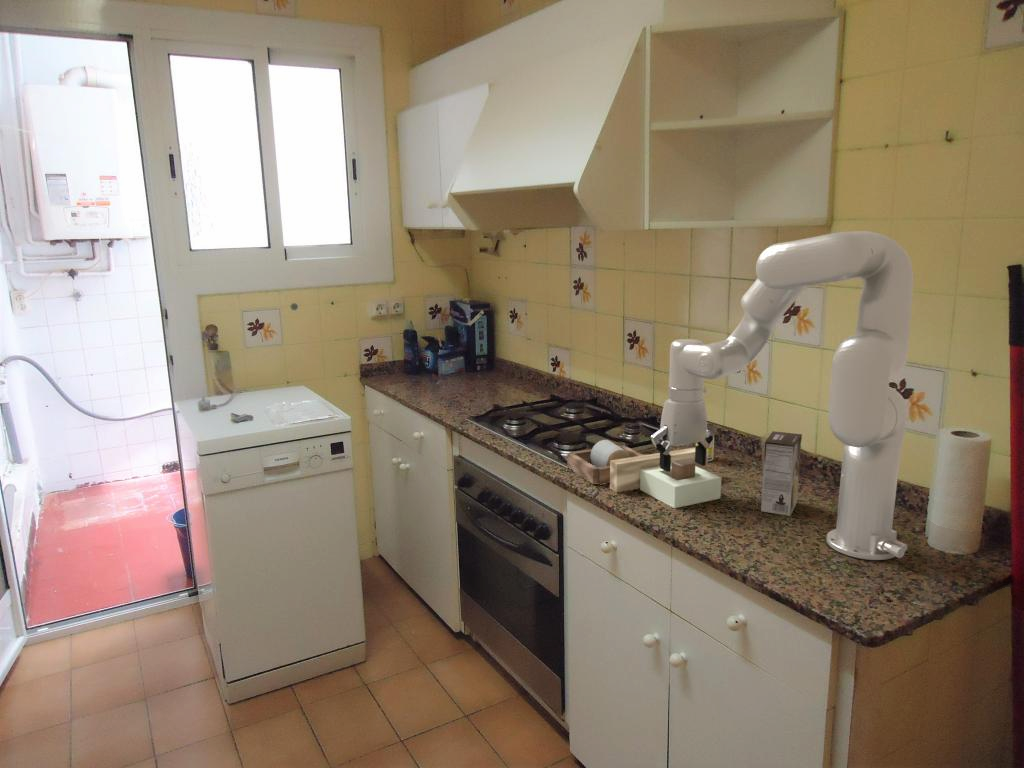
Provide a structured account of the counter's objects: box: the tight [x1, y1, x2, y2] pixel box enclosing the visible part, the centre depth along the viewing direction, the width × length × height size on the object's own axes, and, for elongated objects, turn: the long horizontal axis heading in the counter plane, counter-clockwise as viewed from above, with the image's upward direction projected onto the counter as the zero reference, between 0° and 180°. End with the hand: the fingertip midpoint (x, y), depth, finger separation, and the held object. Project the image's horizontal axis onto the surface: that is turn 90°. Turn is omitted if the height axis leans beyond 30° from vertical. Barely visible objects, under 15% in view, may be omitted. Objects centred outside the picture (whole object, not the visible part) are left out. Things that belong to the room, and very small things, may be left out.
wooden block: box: [671, 459, 695, 481], centre depth 164 cm, size 4×4×8 cm
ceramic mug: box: [591, 439, 629, 468], centre depth 181 cm, size 11×8×8 cm
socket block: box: [639, 464, 722, 509], centre depth 165 cm, size 13×13×5 cm
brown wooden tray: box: [566, 444, 644, 485], centre depth 181 cm, size 15×17×4 cm
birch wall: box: [609, 446, 709, 494], centre depth 172 cm, size 3×26×7 cm, turn 113°
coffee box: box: [760, 430, 803, 517], centre depth 156 cm, size 9×6×16 cm
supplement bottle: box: [695, 430, 715, 462], centre depth 189 cm, size 5×5×8 cm
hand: (682, 466), depth 164 cm, fingers open, 9 cm apart
